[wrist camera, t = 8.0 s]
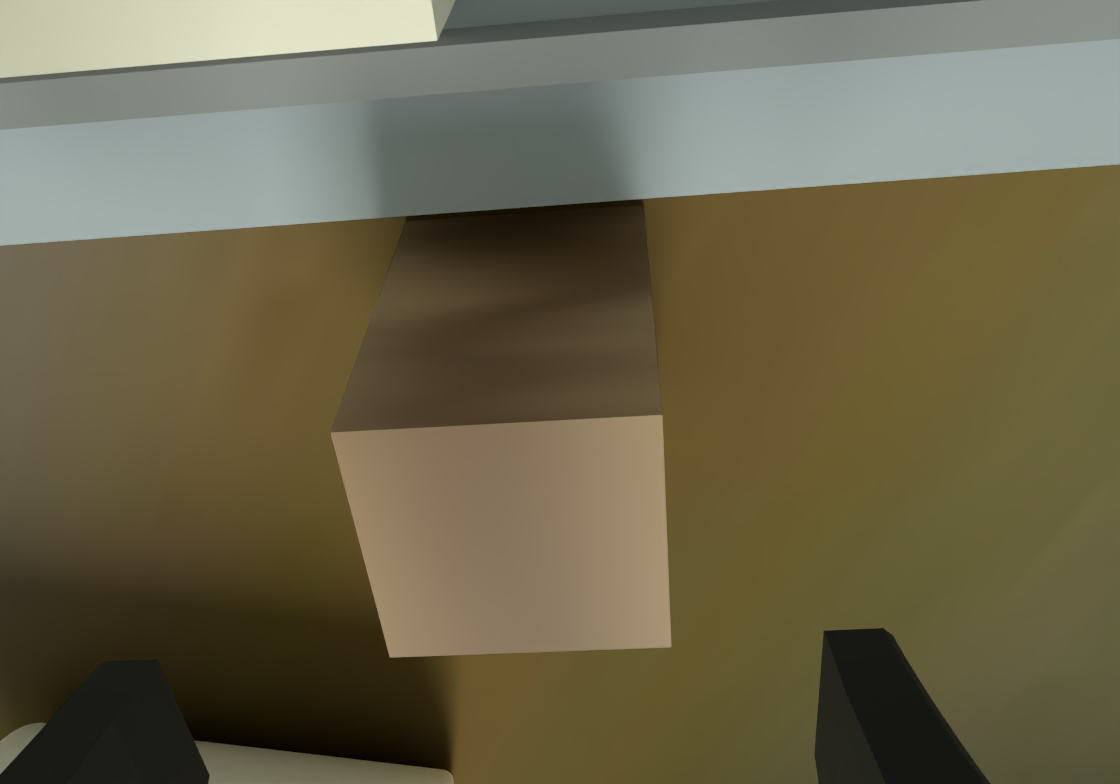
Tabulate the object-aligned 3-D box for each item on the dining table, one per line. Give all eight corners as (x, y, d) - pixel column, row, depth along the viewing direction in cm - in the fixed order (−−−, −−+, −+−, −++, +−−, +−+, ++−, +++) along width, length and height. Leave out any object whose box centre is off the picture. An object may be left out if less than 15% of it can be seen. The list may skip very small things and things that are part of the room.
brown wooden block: (643, 204, 17) (662, 414, 12) (652, 401, 19) (671, 646, 14) (406, 220, 17) (329, 432, 12) (441, 412, 20) (389, 657, 15)
